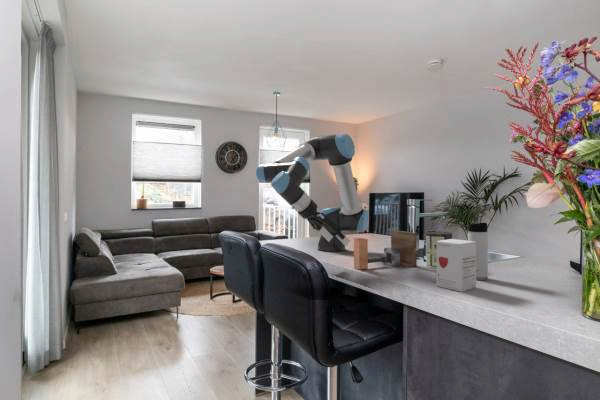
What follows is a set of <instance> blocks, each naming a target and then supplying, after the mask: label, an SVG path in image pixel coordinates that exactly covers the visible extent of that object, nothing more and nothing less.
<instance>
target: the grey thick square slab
mask: <svg viewBox="0 0 600 400" xmlns="http://www.w3.org/2000/svg"><path fill="white" fill-rule="evenodd" d="M383 256H385V257H386V262H385V263H383V264H384V265H386V266H388V267H393V268H398V267H401V266H400V250H399V249H394V248H391V247H384V248H383Z"/></svg>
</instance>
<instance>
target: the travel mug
mask: <svg viewBox="0 0 600 400" xmlns="http://www.w3.org/2000/svg"><path fill="white" fill-rule="evenodd" d="M467 228H468V229H467V241H476V281H487V280H488V279H489V273H488V272H489V270H488V269H489V267H488V265H489V263H488V259H489V258H488V257H489V253H488V252H489V250H488V247H489V246H488V242H489V241H488V239H489V238H488V223H487V222H479V223H469V224H467Z"/></svg>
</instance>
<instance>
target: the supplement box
mask: <svg viewBox="0 0 600 400" xmlns="http://www.w3.org/2000/svg"><path fill="white" fill-rule="evenodd" d="M436 287H439V288H443V289H449V290H452V291H457V292H465V291H466V292H467V291H469V290H472V289H476V288H477V280H476V241H468V239H467V240H465V239H457V238H452V239H448V240H439V241H437V268H436Z"/></svg>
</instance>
